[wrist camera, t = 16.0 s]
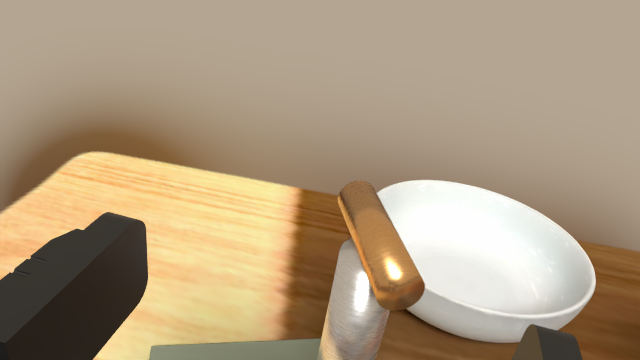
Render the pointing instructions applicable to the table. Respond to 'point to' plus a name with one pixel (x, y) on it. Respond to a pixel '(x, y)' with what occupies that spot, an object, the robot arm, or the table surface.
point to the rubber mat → (240, 351)
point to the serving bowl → (487, 261)
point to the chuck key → (367, 278)
